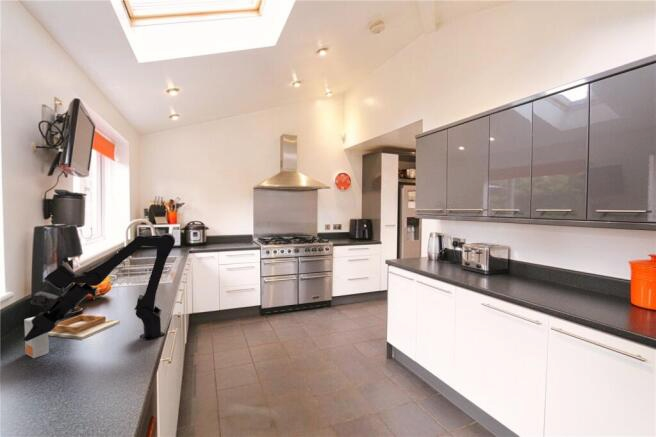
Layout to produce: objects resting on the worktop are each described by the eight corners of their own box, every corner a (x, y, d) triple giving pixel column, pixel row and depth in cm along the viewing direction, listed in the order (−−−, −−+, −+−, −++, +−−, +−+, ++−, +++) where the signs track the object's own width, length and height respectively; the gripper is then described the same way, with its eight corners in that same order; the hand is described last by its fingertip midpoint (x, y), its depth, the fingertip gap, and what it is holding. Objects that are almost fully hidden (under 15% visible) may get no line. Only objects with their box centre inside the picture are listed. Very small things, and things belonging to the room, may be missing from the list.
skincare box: (25, 354, 103) (23, 319, 103) (41, 349, 107) (40, 315, 107) (33, 358, 101) (31, 322, 100) (49, 353, 104) (48, 318, 104)
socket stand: (119, 323, 131) (119, 315, 130) (82, 339, 115) (82, 330, 115) (77, 319, 135) (77, 311, 135) (36, 333, 120) (35, 325, 120)
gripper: (59, 277, 113) (20, 311, 109) (38, 290, 96) (-9, 331, 92) (87, 296, 117) (50, 330, 112) (71, 311, 100) (27, 352, 96)
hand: (31, 335), depth 103 cm, fingers open, 9 cm apart
